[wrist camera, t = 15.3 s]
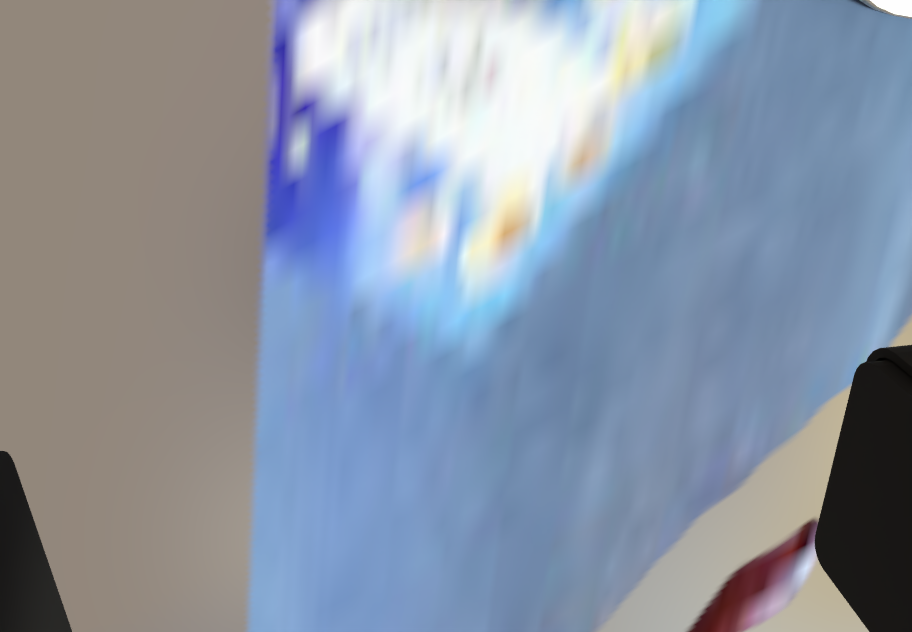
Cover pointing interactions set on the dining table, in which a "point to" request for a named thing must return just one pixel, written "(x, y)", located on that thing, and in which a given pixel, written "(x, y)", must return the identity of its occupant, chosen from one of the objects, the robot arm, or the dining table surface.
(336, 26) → the dining table surface
